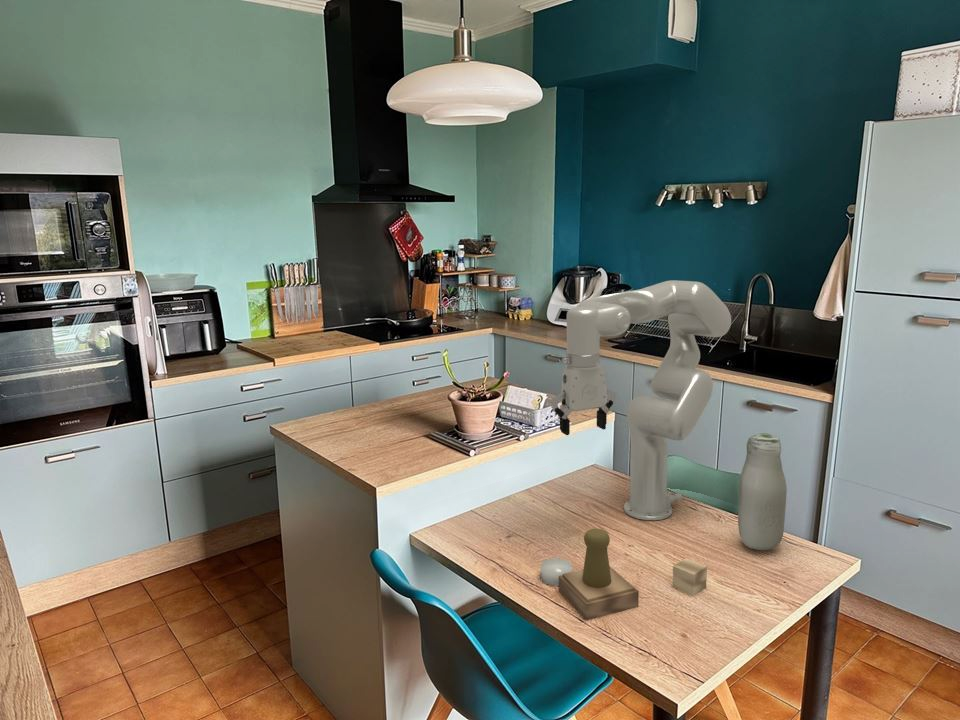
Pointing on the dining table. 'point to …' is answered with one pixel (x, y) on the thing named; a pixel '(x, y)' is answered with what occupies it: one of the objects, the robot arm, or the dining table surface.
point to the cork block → (689, 576)
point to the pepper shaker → (596, 559)
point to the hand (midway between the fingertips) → (583, 430)
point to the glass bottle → (762, 494)
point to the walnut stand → (598, 595)
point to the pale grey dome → (554, 570)
